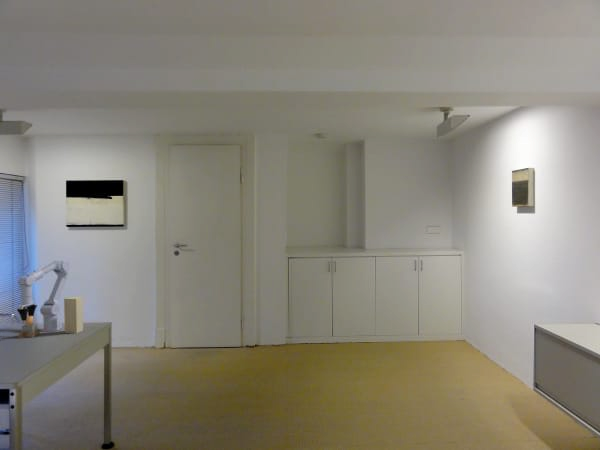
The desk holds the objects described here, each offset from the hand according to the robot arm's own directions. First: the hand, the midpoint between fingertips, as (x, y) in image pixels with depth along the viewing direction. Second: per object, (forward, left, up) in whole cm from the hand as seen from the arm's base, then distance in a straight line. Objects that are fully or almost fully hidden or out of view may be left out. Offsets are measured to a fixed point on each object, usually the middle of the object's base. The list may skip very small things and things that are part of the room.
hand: (27, 318), depth 258 cm
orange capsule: (-1, 0, -4) cm, 4 cm away
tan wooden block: (-24, -6, -11) cm, 27 cm away
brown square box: (0, -1, -11) cm, 11 cm away
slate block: (-1, -1, -7) cm, 7 cm away
